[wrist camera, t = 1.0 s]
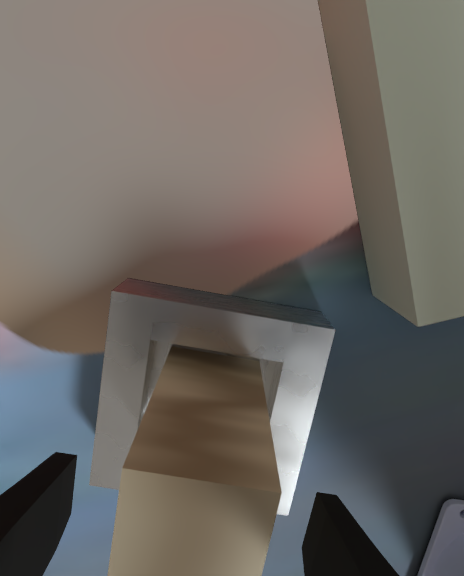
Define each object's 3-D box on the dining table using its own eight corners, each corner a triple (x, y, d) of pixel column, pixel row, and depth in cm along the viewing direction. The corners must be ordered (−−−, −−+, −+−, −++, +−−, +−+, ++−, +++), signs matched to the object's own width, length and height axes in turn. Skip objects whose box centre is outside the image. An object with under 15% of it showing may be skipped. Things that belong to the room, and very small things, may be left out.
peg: (259, 361, 17) (282, 493, 10) (243, 438, 18) (251, 616, 11) (171, 346, 17) (122, 468, 10) (159, 425, 18) (104, 595, 10)
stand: (321, 311, 18) (335, 329, 16) (281, 476, 20) (288, 515, 18) (128, 277, 18) (111, 290, 15) (106, 449, 20) (89, 485, 17)
